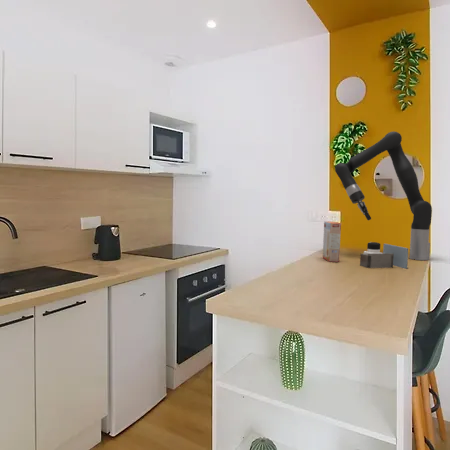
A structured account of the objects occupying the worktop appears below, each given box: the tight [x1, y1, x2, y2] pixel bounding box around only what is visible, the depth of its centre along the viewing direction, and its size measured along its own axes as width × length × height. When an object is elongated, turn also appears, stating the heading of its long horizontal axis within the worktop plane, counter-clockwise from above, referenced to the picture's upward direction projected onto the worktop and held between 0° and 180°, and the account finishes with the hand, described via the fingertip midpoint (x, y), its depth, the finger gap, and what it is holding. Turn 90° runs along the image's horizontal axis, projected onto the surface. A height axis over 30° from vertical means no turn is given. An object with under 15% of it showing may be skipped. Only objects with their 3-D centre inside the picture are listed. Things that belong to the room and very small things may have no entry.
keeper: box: [359, 252, 394, 269], centre depth 189 cm, size 13×8×7 cm, turn 101°
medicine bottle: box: [363, 241, 382, 255], centre depth 190 cm, size 7×7×12 cm
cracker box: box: [322, 221, 342, 263], centre depth 206 cm, size 14×6×21 cm, turn 179°
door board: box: [382, 243, 409, 270], centre depth 193 cm, size 1×18×10 cm, turn 11°
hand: (369, 219), depth 212 cm, fingers closed
